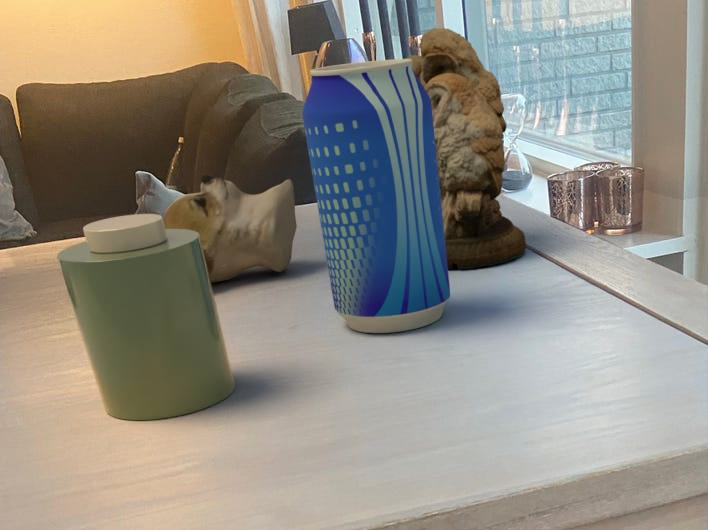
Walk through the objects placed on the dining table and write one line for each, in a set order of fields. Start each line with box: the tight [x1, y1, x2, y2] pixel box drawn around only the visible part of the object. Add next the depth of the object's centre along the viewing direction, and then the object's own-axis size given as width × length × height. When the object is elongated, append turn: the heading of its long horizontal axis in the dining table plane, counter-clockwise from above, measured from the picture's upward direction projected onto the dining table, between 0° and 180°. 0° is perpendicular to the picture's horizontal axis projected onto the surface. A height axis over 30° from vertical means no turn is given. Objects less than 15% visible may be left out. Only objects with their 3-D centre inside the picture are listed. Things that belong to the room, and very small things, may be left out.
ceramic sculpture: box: [163, 174, 298, 283], centre depth 83 cm, size 11×9×15 cm
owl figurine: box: [405, 27, 527, 270], centre depth 82 cm, size 18×12×17 cm, turn 28°
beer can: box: [302, 58, 451, 334], centre depth 65 cm, size 8×8×16 cm
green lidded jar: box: [56, 213, 236, 421], centre depth 57 cm, size 8×8×10 cm
